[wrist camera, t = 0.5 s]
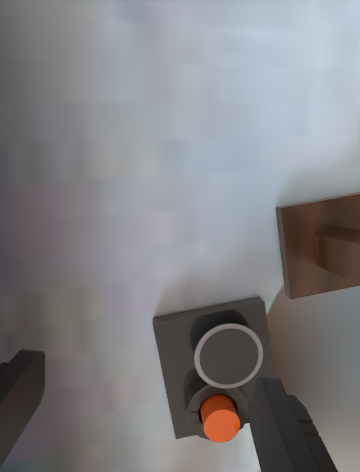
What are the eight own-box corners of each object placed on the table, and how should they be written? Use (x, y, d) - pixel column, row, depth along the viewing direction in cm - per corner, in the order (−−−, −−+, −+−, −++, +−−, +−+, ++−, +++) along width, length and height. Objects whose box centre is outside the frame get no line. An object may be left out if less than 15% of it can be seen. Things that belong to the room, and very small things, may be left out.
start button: (197, 398, 29) (201, 414, 27) (231, 390, 29) (237, 406, 27) (203, 428, 30) (206, 446, 28) (236, 420, 30) (242, 438, 28)
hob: (152, 317, 31) (152, 333, 27) (259, 296, 31) (272, 309, 28) (174, 428, 33) (177, 456, 30) (273, 406, 34) (287, 430, 30)
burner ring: (189, 331, 28) (189, 332, 27) (258, 317, 28) (258, 318, 28) (200, 394, 29) (200, 395, 29) (266, 379, 29) (267, 381, 29)
